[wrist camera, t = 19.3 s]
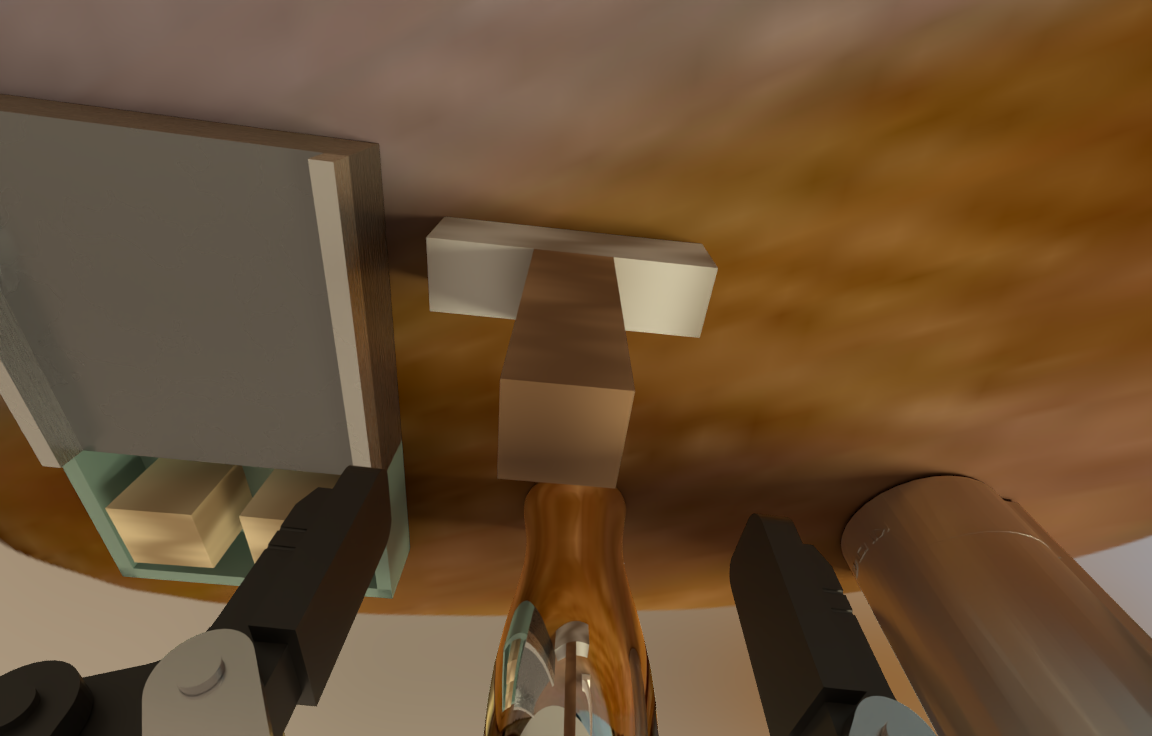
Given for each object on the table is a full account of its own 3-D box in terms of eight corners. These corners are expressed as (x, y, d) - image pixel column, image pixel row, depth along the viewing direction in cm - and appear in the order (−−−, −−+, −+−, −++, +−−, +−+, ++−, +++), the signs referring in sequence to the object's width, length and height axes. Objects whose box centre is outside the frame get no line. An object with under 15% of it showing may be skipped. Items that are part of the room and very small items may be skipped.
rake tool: (701, 243, 22) (809, 407, 11) (686, 307, 23) (769, 501, 13) (445, 216, 21) (315, 361, 11) (447, 282, 23) (335, 464, 12)
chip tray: (401, 439, 27) (379, 486, 24) (410, 548, 32) (392, 598, 29) (115, 411, 27) (56, 455, 24) (167, 527, 31) (123, 576, 28)
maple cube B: (191, 515, 24) (213, 567, 26) (239, 458, 28) (256, 509, 30) (105, 508, 24) (134, 562, 26) (164, 452, 27) (186, 504, 29)
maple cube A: (323, 523, 24) (334, 575, 26) (355, 467, 28) (362, 516, 30) (238, 516, 24) (256, 568, 26) (281, 459, 28) (293, 510, 30)
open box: (379, 143, 20) (333, 161, 16) (401, 439, 27) (374, 496, 24) (-28, 90, 19) (-172, 96, 15) (115, 411, 27) (42, 466, 23)
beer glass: (535, 554, 32) (505, 879, 19) (501, 476, 29) (436, 810, 16) (642, 537, 31) (684, 866, 18) (620, 454, 28) (653, 790, 15)
